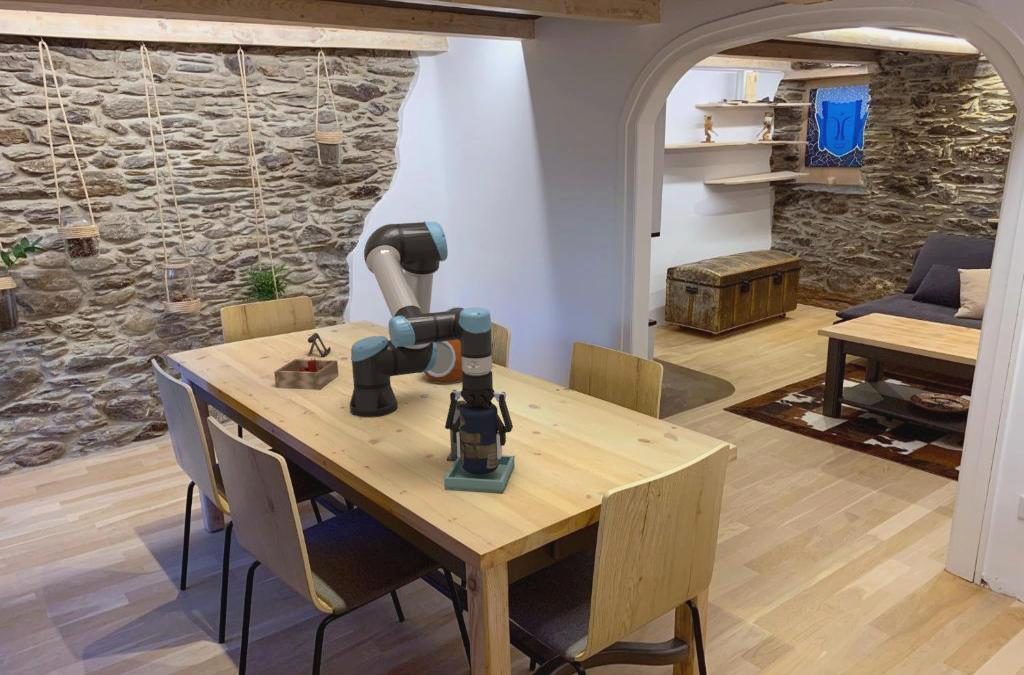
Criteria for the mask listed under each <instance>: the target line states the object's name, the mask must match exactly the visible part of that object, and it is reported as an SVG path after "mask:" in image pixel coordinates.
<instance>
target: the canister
mask: <svg viewBox="0 0 1024 675" xmlns="http://www.w3.org/2000/svg"><path fill="white" fill-rule="evenodd" d="M492 404H493V406H492V407H491V409H489V410H485V409H484V408H474V407H472V405H470V407H469V408H463V407H464V406H465V405H463V406H462V407H461V409H460V435H461V457H462V467H463V469H464V470H465V471H466V472H468V473H472V474H487V473H491V472H493V471H495V470H496V469H497V468H498V465H499V461H498V459H497V433H498V430H497V428H496V418H497V416H498V415H499V413H498V412H499V411H498V407H497V406H496V404H494V403H492ZM488 405H490V404H488ZM497 414H498V415H497Z"/></svg>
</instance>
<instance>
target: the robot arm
mask: <svg viewBox="0 0 1024 675" xmlns="http://www.w3.org/2000/svg"><path fill="white" fill-rule="evenodd" d="M447 242H448V241H447V238H446V234H445V231H444V229H443V227H442V225H441V224H440V223H439V222H436V221H423V222H422V221H421V222H405V223H387V224H385V225H382V226H379V227H378V228H377V229H375V230H374V231H373V232H372V233H371V235H369V237H368V239H367V240H366V243H365V245H364V251H363V258H364V262H365V265H366V267H367V269H368V270H369V272H370V273H372V274H373V275H374V277H375V279H376V282H377V285H378V286H379V289H380V291H381V293H382V296H383V299H384V301H385V302H386V303H385V304H386V306H387V308H388V312H389V313H390V315H391V318H389V321H388V334H389V339H388V337H387V336H385V335H374V336H373V335H372V336H367V337H364V338H361V339H359V340H357V341H356V342H354V343H353V344H352V345H351V347H350V348H351V350H350V351H351V352H350V353H351V355H350V356H351V357H350V360H351V366H352V367H351V369H352V380H353V390H352V395H351V398H350V403H349V412H350V414H352V415H353V416H355V417H361V418H377V417H382V416H387V415H390V414H392V413H395V412H396V411H397V410H398V400H397V397H396V395H395V392H394V390H393V388H392V386H391V377H395V376H397V377H398V376H404V375H411V374H412V375H413V374H421V373H425V371H429V370H431V369H432V368H433V367H434V366H435V363H436V359H437V345H436V342H444V341H452V340H459V341H460V342H461V365H462V371H463V373H462V381H461V385H462V386H461V387H462V388H461V390H457V389H453V390H452V391H451V392H450V394H449V398H450V404H449V408H448V413H447V417H446V421H445V426H444V428H445V429H446V430H449V431H450V430H452V432H453V442H454V443H457V456H458V457H461V435H460V429H459V427H460V415H459V417H458V419H457V421H456V423H455V424H453V418H454V414H455V410H456V405H457V401H459V400H460V398H462V399H463V401H465V403H466V404H465V406H464V407H463V408H469V407H470V405H472V407H474V408H484V409H485V410H489V409H491V407H492V406H493V404H494V403H493V402H492V400H493V399H494V398H495V401H496V402H498V407H499V410H500V414H501V417H502V419H501V417H500V415H499V413H497V415H498V416H497V418H496V428H497V430H498V433H497V459H500V458H501V456H502V455H503V447H504V446H505V445H506V442H507V436H506V435H507V433H511V432H512V430H513V428H514V425H513V422H512V419H511V414H510V412H509V409H508V406H507V402H506V396H507V394H506V392H505V391H501V392H495V390H494V384H493V379H494V378H493V372H492V370H493V356H492V355H493V352H492V326H493V325H492V324H493V323H492V319H491V312H490V310H489V309H487V308H483V307H467V308H463V307H459V306H453V307H450V308H448V309H447V310H445V311H438V312H431V302H432V290H433V281H434V280H433V279H434V274H435V273H437V271H438V270H439V268H440V262H444V261H446V260H447V259H448V257H449V256H448V254H449V253H448V252H449V251H448V243H447ZM488 404H490V405H488Z"/></svg>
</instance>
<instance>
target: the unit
mask: <svg viewBox="0 0 1024 675" xmlns="http://www.w3.org/2000/svg"><path fill="white" fill-rule="evenodd" d="M465 404H466V402H465V400H464V399H463V400H460V399H459V400H458V401H457V405H456V410H455V414H454V418H453V424H455V423H456V421H457V419H458V417H459V415H460V409H461V407H462V406H463V405H465ZM459 429H460V427H459ZM449 435H450V437H449V438H450V453H449V455H448V456H447V457H446V461H448V462H455V461H456V459H457V457H458V456H457V443H454V442H453V432H452V430H450V429H449Z"/></svg>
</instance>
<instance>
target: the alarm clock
mask: <svg viewBox="0 0 1024 675" xmlns="http://www.w3.org/2000/svg"><path fill="white" fill-rule="evenodd" d="M436 345H437V359H436V363H435V366H434V367H433V368H432V369H431V370H429V371H425V372H424V374H425V376H427V378H428V379H430V381H431V382H432V383H436V384H443V385H444V384H447V385H448V384H451V385H452V384H456V383H460V382H462V373H463V371H462V365H461V342H460V341H459V340H452V341H444V342H436Z"/></svg>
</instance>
